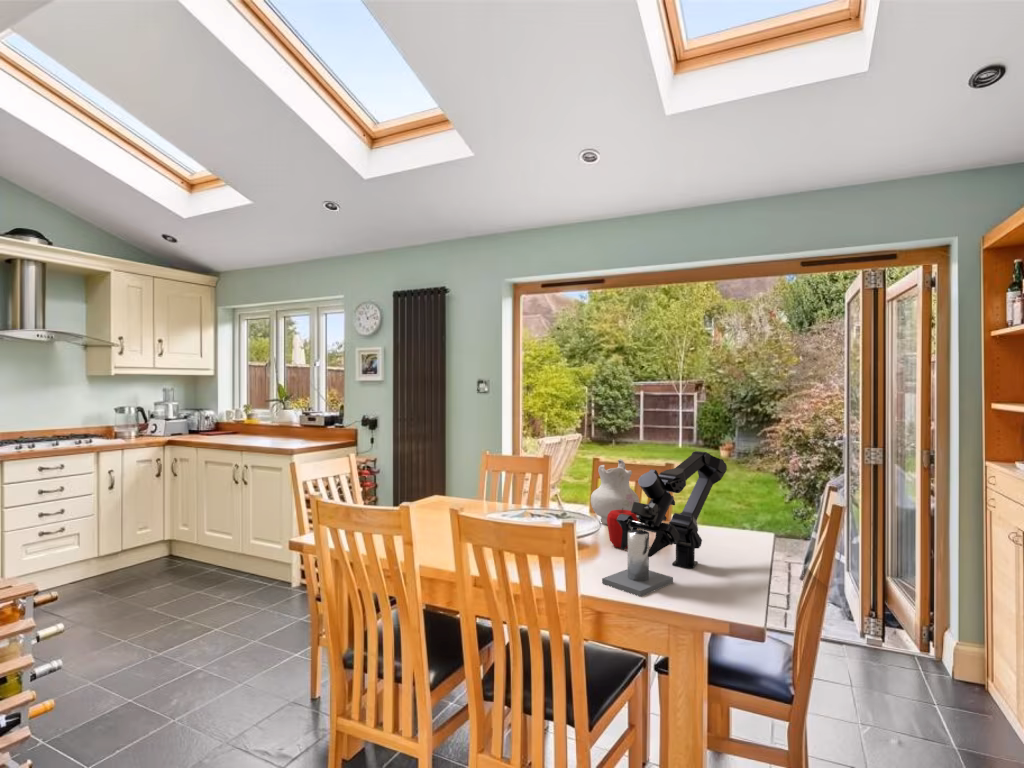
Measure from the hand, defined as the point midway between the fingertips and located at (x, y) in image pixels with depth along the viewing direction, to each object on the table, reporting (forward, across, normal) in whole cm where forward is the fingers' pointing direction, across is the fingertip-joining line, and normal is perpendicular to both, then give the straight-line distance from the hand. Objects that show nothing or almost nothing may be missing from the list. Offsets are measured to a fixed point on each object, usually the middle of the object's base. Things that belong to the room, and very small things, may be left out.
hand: (635, 552), depth 161 cm
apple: (-13, -25, +26) cm, 38 cm away
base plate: (+5, 0, +7) cm, 9 cm away
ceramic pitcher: (-31, -49, +45) cm, 73 cm away
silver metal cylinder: (+4, 0, +6) cm, 8 cm away
